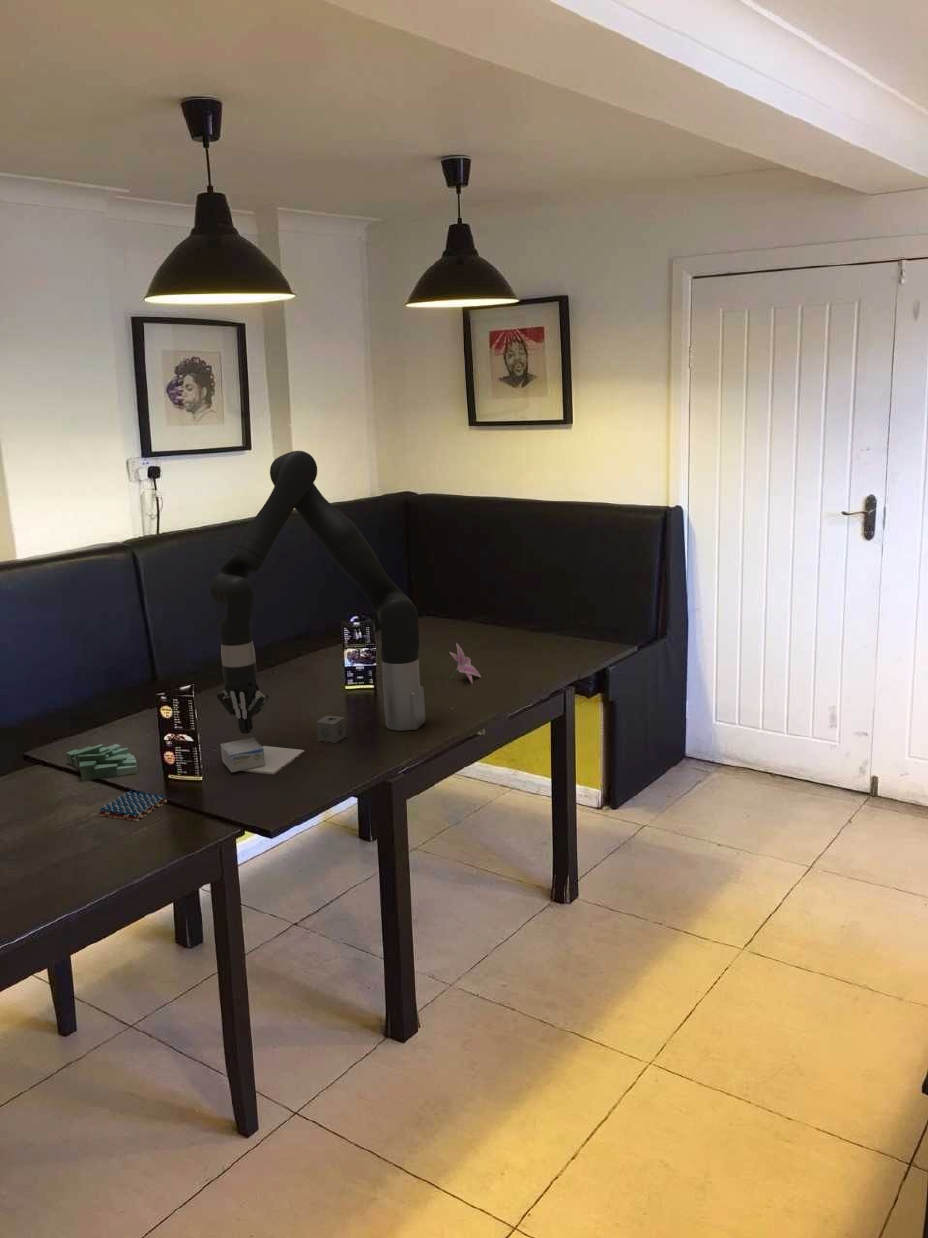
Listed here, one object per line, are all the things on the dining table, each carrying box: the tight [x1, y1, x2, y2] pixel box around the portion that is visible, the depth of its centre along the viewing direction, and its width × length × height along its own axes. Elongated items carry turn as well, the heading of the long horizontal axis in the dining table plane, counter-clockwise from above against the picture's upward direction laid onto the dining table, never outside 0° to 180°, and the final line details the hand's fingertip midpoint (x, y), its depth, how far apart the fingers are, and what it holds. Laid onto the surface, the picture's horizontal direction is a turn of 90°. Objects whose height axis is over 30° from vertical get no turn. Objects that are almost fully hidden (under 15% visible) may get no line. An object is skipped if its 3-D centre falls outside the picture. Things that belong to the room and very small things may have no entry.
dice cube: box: [315, 715, 347, 744], centre depth 252 cm, size 5×5×5 cm
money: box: [66, 743, 138, 782], centre depth 240 cm, size 20×16×5 cm
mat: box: [240, 745, 305, 775], centre depth 240 cm, size 11×14×1 cm
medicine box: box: [220, 737, 265, 773], centre depth 237 cm, size 8×4×9 cm
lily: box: [449, 642, 482, 684], centre depth 293 cm, size 12×12×10 cm
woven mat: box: [98, 790, 168, 822], centre depth 217 cm, size 10×11×2 cm
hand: (246, 732), depth 241 cm, fingers closed
